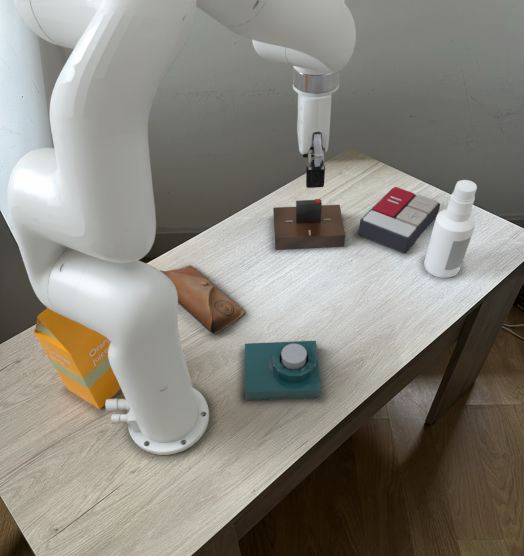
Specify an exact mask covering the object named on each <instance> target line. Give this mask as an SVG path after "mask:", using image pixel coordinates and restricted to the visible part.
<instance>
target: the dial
mask: <svg viewBox="0 0 524 556" xmlns="http://www.w3.org/2000/svg"><path fill="white" fill-rule="evenodd" d="M322 205H323V203H322V199H321V198H315V199H304V200H303V199H301V200H295V207H296V223H311V222H321V209H322Z"/></svg>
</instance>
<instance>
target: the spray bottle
mask: <svg viewBox="0 0 524 556" xmlns="http://www.w3.org/2000/svg"><path fill="white" fill-rule="evenodd" d="M477 189H478V185H477V184H476V183H475V182H474V181H472V180H469V179H462V180H458V181H457V182H456V184H455V186H454V189H453V190H452V193H451V195H450V199H449V202H448V204H447V207H446V208H444V209H442V210H441V211H438V214H437V216H436V218H435V219H434V224H433V227H432V232H431V235H430V239H429V243H428V247H427V249H426V254H425V257H424V261H423V267H424V269H425V270H426V271H427V273H429V274H430V275H432V276H434V277H437V278H440V279H442V278H443V279H445V278H446V279H448V278H451V277H454V276H456V275H457V274H458V273H460V271H461V268H462V265H463V262H464V259H465V256H466V253H467V250H468V247H469V246H470V243H471V239H472V237H473V233H474V230H475V228H476V218H475V216H474V215H472V209H473V205H474V203H475V200H476V198H475V196H476V192H477Z"/></svg>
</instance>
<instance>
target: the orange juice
mask: <svg viewBox="0 0 524 556" xmlns="http://www.w3.org/2000/svg"><path fill="white" fill-rule="evenodd" d="M36 318H37V319H36V322H35V328H34V331H33V335H34V336H35V337H36V339H37V341H38V342H39V344H40V345H41V347H42V350H43V351H44V353H45V354H46V356H47V357H48V360H49V361H50V363H51V365H52V367H53V368H54V369H55V371H56V373H57V374H58V376H59V378H60V380H61V381H62V382H63V384H64V386H65V387H66V389H67V390H68V391H69V392H71V393H72V394H74V395H76V396H78V397H79V398H80V399H82V400H84V401H85V402H87V403H89V404H90V405H92V406H93V407H94V408H97V410H101V409H103V407H104V406H105V403H106V400H107V399H113V398H114V396H115V395H116V394H117V393H118V392H119V391H120V390H122V389H121V387H120V385H119V383H118V381H117V378H116V376H115V375H114V372H113V370H112V368H111V365H110V363H109V359H108V349H109V346H110V343H111V341H110V340H109V339H107V338H106V337H105V336H103V335H101V334H100V333H98V332H96V331H94V330H91V329H89V328H87V327H85V326H84V325H82V324H80V323H77V322H75V321H73V320H71V319H69V318H66V317H64V316H62V315H60V314H58V313H56V312H54V311H52V310H50V309H49V308H47V307H46V309H44V310H43V311H42V312H40V313H39V314H38V315H37V316H36Z"/></svg>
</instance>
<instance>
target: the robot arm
mask: <svg viewBox="0 0 524 556" xmlns="http://www.w3.org/2000/svg"><path fill="white" fill-rule="evenodd" d="M13 3H14V6H15V8H16V10H17V12H18V15H19V16H20V18H21V20H22V21H23V23H25V25H26V26H27V27H28V28H29V30H31V31H32V32H33V33H34V34H35V35H36V36H38V37H39V38H41V39H43V40H44V41H47V42H49V43H50V44H53V45H56V46H60V47H62V48H66V49H72V51H71V53H70V55H69V56H68V58H67V61H66V62H65V64H64V65H63V67H62V69H61V71H60V73H59V75H58V77H57V79H56V81H55V84H54V86H53V89H52V93H51V97H50V102H49V125H50V126H49V127H50V130H51V136H52V137H51V138H52V142H53V147H41V148H36V149H34V150H31V151H29V152H27V153H26V154H24V155H23V156H22V157H21V158H19V160H18V161H17V162H16V164H15V165H14V167H13V168H12V171H11V173H10V176H9V179H8V183H7V188H6V189H7V191H6V205H7V211H8V216H9V219H10V225H11V227H12V230H13V233H14V236H15V239H16V242H17V246H18V250H19V252H20V255H21V258H22V262H23V264H24V267H25V270H26V273H27V276H28V280H29V282H30V285H31V287H32V290H33V292H34V294H35V296H36V297H37V298H38V300H39V301H40V302H41V304H42V305H43V306H45V307H46V309H47V308H49V309H50V310H52V311H54V312H56V313H58V314H60V315H62V316H64V317H66V318H69V319H71V320H73V321H75V322H77V323H80V324H82V325H84V326H85V327H87V328H89V329H91V330H94V331H96V332H98V333H100V334H101V335H103V336H105V337H106V338H107V339H109V340H110V341H111V343H110V346H109V349H108V359H109V363H110V365H111V368H112V370H113V372H114V375H115V376H116V378H117V381H118V383H119V385H120V387H121V389H120V390H121V392H122V394H123V396H124V398H111V399H107V400H106V403H105V405H104V406H105V410H106V412H119V411H126V413H123V414H122V413H112V414H111V416H110V422H111V424H121V423H122V424H123V423H125V424H127V429H128V433H129V434H130V437H131V439H132V440H133V442H134V443H135V445H136V446H138V447H139V449H142V450H144V452H147V453H150V454H152V455H157V456H170V455H175V454H179V453H181V452H184V451H186V450H188V449H189V448H191V447H193V446H194V445H195V444H196V443H197V442H199V440H200V439H201V438H202V437H203V435H204V434H205V432H206V430H207V429H208V425H209V421H210V409H209V406H208V402H207V400H206V398H205V396H204V395H203V394H202V393H201V392H200V391H199V390H198V389H196V388H195V387H194V386H193V383H192V379H191V375H190V372H189V368H188V364H187V360H186V356H185V353H184V349H183V345H182V340H181V336H180V331H179V324H178V323H179V322H178V321H179V320H178V319H179V317H178V315H179V303H178V295H177V290H176V287H175V285H174V284H173V282H172V281H171V280H170V278H169V277H167V276H166V275H165V274H164V273H163V272H161V271H162V270H161V271H160V270H159V269H158V268H156V267H155V266H152V265H150V264H148V263H146V262H143V261H141V259H143V258H144V257H146V256H147V255H148V253H149V252H150V251H151V249H152V248H153V244H154V243H155V239H156V234H157V233H156V231H157V217H156V215H157V214H156V205H155V196H154V194H155V193H154V186H153V175H152V166H151V157H150V156H151V155H150V146H149V145H150V144H149V118H150V113H151V109H152V106H153V102H154V100H155V97H156V95H157V93H158V90H159V88H160V86H161V84H162V83H163V81H164V79H165V77H166V75H168V72H169V70H170V69H171V67H172V66H173V64H174V63H175V61H176V60H177V59H178V57H179V56H180V54H181V53H182V51H183V49H184V48H185V46H186V45H187V43H188V40H189V38H190V36H191V34H192V31H193V27H194V25H195V17H196V11H197V8H198V9H200V11H202V12H204V13H205V14H206V15H208V16H210V18H212V19H214V20H215V21H216V22H218V23H219V24H221V25H222V26H223V27H224V28H225V29H227V30H229V31H230V32H232V33H234V34H236V35H238V36H241V37H244V38H247V39H250V40H251V42H252V43H251V44H252V46H253V48H254V51H255V52H256V54H257V55H258V56H259V57H261V58H262V59H263V60H266V61H268V62H271V63H276V64H280V65H285V66H290V67H292V89H293V90H294V92H295V93H297V117H296V118H297V122H296V133H297V143H298V150H299V153H300V155H302V158H307V166H305V167H306V169H305V171H306V172H305V177H306V178H305V187H306V188H307V189H317V188H324V187H325V178H326V177H325V174H326V165H325V154H326V153H327V152H328V151H329V144H330V131H331V119H332V118H331V114H332V95H333V94H334V93H336V92H337V91H338V89H340V88H339V87H340V79H341V78H340V77H341V71H342V70H343V69H344V68H345V67H346V66H347V65H348V63H349V61H350V60H351V58H352V56H353V54H354V50H355V47H356V41H357V31H356V29H357V28H356V23H355V20H354V17H353V14H352V12H351V10H350V9H349V7H348V6H347V4H346V0H13ZM312 158H313V159H312Z"/></svg>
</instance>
